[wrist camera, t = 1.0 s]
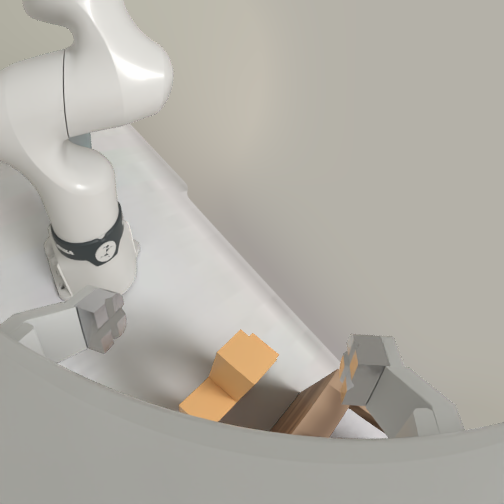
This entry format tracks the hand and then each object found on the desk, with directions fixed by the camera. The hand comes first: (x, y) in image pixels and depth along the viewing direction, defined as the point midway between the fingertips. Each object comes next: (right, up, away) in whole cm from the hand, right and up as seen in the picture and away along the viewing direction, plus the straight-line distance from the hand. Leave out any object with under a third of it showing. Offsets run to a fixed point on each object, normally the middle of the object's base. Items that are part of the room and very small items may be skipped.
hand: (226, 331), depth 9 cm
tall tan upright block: (-4, -20, +29) cm, 36 cm away
